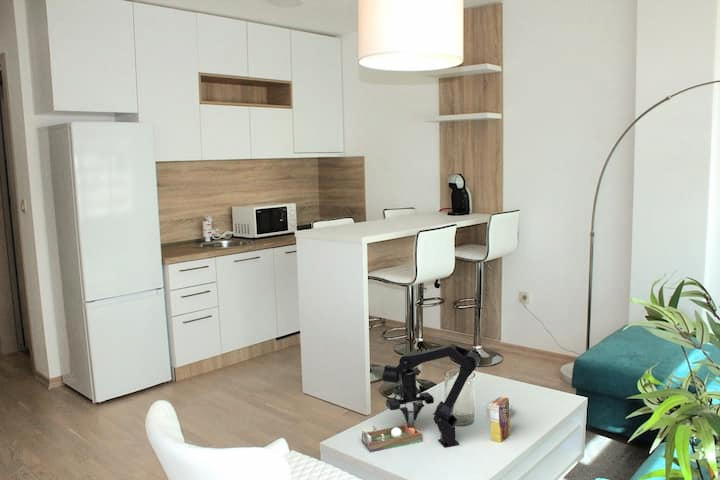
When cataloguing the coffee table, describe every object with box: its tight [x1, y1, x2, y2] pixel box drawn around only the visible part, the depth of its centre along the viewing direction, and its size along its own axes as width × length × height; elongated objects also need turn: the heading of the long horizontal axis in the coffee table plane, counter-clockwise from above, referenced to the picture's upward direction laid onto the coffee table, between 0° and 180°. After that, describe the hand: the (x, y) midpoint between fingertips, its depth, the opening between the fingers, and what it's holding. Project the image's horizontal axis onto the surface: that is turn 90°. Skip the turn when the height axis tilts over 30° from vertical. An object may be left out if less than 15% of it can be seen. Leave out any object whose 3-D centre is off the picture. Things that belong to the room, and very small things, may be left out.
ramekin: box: [485, 399, 513, 419], centre depth 261 cm, size 11×11×5 cm
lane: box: [361, 424, 423, 453], centre depth 242 cm, size 10×22×6 cm, turn 108°
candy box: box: [489, 396, 511, 443], centre depth 240 cm, size 9×4×15 cm, turn 140°
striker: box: [404, 410, 416, 435], centre depth 244 cm, size 7×3×10 cm, turn 18°
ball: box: [391, 426, 402, 438], centre depth 242 cm, size 4×4×4 cm
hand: (410, 421), depth 244 cm, fingers closed on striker, 3 cm apart
